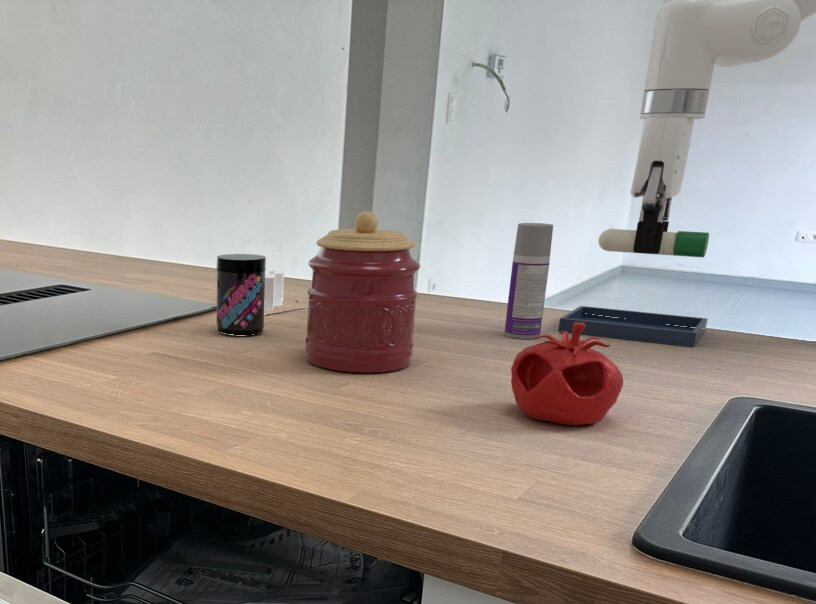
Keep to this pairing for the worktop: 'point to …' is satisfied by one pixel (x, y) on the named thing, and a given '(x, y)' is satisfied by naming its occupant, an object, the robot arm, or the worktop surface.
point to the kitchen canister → (362, 299)
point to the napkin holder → (274, 288)
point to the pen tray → (636, 325)
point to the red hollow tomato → (565, 380)
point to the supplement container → (240, 293)
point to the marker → (670, 245)
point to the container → (528, 280)
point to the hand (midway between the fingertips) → (648, 250)
